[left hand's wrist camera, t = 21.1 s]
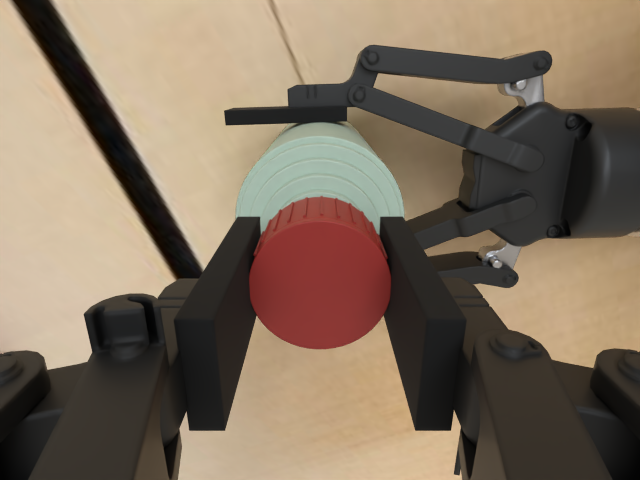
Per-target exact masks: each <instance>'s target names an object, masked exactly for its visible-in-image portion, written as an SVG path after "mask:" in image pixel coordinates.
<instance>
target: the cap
mask: <svg viewBox="0 0 640 480" xmlns="http://www.w3.org/2000/svg"><path fill="white" fill-rule="evenodd" d="M253 256H255V258H254V261H253V263H252V266H251V269H250V273H249V286H250V300H251V304H252V306H253V309H254V311H255V313H256V314H257V316H258V318H259V319H260V320H261V322H262V323H263V324H264V325H265V326H266V328H267V329H268V330H269V331H271V332H272V333H273V334H274V335H276V336H277V337H279V338H281V339H282V340H284V341H286V342H288V343H290V344H293V345H296V346H299V347H304V348H310V349H330V348H336V347H341V346H344V345H347V344H350V343H352V342H354V341H356V340H358V339H360V338H361V337H363V336H364V335H366V334H367V333H368V332H369V331H370V330H372V329H373V328H374V327H375V325H376V324H377V323H378V322H379V321H380V319H381V318H382V316H383V315H384V313H385V311H386V309H387V306H388V304H389V301H390V291H391V273H390V269H389V266H388V263H387V260H386V259H388V257H387V254H386V252H385V249H384V247H383V244H382V241H381V239H380V236H379V234H377V233H376V230H375V227H374V225H373V223H372V221H371V222H370V221H369V220H368V219H367V217H366V216H365V215H364V212H363V211H359V210H358V209H357V208H355V207H354V206H352V204H351V203H349V204H348V203H347V202H344V201H341V200H338V198H335V199H334V198H329V197H323V196H320V197H311V198H308V197H305V199H302V200H299V201H296V202H291V204H290V205H288V206H286V207H285V208H283V209H282V210H281V209H280V210H279V211H278V213H277V214H276V215H275V216H274V217H273V219H272V220H271V219H270V220H269V222H268V224H267V227H266V229H265V232H264V231H263V232H262V234H261V237H260V239H259V242H258V244H257V247H256V249H255V252H254V254H253Z"/></svg>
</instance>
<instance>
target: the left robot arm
mask: <svg viewBox="0 0 640 480" xmlns="http://www.w3.org/2000/svg"><path fill="white" fill-rule="evenodd" d="M379 236H380V239H381V241H382V244H383V247H384V249H385V252H386V254H387V257H388V259H386V260H387V263H388V266H389V269H390V273H391V291H390V301H389V304H388V306H387V309H386V311H385V313H384V318H385V322H386V325H387V329H388V333H389V336H390V340H391V344H392V347H393V351H394V355H395V358H396V362H397V366H398V369H399V373H400V376H401V380H402V384H403V387H404V391H405V395H406V398H407V402H408V406H409V409H410V413H411V416H412V420H413V424H414V427H415V431H451V426H452V419H453V412H454V410H455V413H456V415H457V418H458V420H459V423H460V425H461V430H460V437H459V443H458V450H457V456H456V463H455V470H454V474H455V475H460V470H461V473H462V480H640V352H637V351H634V350H625V349H609V350H603V351H602V352H601V353H599V354H598V355H597V357H596V361H595V365H594V368H589V367H584V366H579V365H573V364H568V363H563V362H559V361H555V360H552V359H551V357H550V355H549V353H548V352H547V350H546V349H545V348H544V347H543V346H542V344H541V343H539V342H538V341H536V340H534V339H533V338H531V337H530V336H527V335H525V334H522V333H519V332H517V331H512V330H508V328H507V327H506V326H505V324H504V323H503V322H502V321H501V319H500V318H499V317H498V315H497V314H496V313H495V311H494V310H493V309H492V307H489V304H488V302H487V301H486V300H485V298H483V296H482V294H481V293H480V292H479V291H478V289H477V288H476V287H475V286H474V285H472V284H471V283H469V282H468V281H466V280H464V279H463V278H461V277H440V276H439V274H438V273H437V271H436V269H435V268H434V266H433V265H432V263H431V261H430V260H429V258H428V257H427V255H426V253H425V252H424V250H423V249H422V247H421V245H420V244H419V242H418V240H417V239H416V237H415V236H414V234H413V232H412V231H411V229H410V228H409V226H408V224H407V223H406V221H405V220H404V218H403V217H380V230H379ZM260 237H261V224H260V217H237V219H236V220H235V222H234V223H233V225H232V227H231V228H230V230H229V231H228V233H227V235H226V236H225V238H224V239H223V241H222V243H221V244H220V246H219V247H218V249H217V251H216V252H215V254H214V255H213V257H212V259H211V260H210V262H209V263H208V265H207V267H206V268H205V270H204V271H203V273H202V275H201V276H200V278H199V279H178V280H177V281H175V282H174V283H172V284H170V285H169V286H167V287H165V289H164V290H163V291H162V293H161V294H160V295H159V297H158V299H157V298H156V297H154V296H152V295H147V294H125V295H120V296H115V297H112V298H109V299H106V300H103V301H101V302H99V303H97V304H95V305H93V306H92V307H90V308H89V309H88V310H87V311H86V312H85V313H84V317H85V322H86V326H87V331H88V335H89V339H90V344H91V348H92V354H91V356H90V358H89V360H88V362H85V363H81V364H77V365H71V366H66V367H61V368H56V369H51V370H47V367H46V363H45V360H44V357H43V356H42V355H40V354H39V353H38V352H33V351H27V350H26V351H15V352H13V351H12V352H6V353H4V354H0V480H178V474H179V466H180V458H181V450H182V444H181V437H180V430H179V428H180V426H181V423H182V421H183V418H184V416H185V413H186V411H187V417H188V424H189V431H225V428H226V425H227V421H228V418H229V414H230V410H231V407H232V403H233V399H234V396H235V392H236V388H237V385H238V381H239V377H240V374H241V370H242V367H243V363H244V359H245V356H246V352H247V348H248V345H249V341H250V337H251V334H252V330H253V326H254V323H255V319H256V316H257V314H256V313H255V311H254V309H253V306H252V304H251V300H250V286H249V273H250V269H251V266H252V263H253V261H254V258H255V256H253V254H254V252H255V249H256V247H257V244H258V242H259V239H260Z"/></svg>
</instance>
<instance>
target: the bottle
mask: <svg viewBox="0 0 640 480" xmlns="http://www.w3.org/2000/svg"><path fill="white" fill-rule="evenodd" d="M320 196H323V197H329V198H334V199H335V198H338V200H341V201H344V202H347V203H348V204H349V203H351V204H352V206H354V207H355V208H357V209H358V210H359V211H363V212H364V215H365V216H366V217H367V219H368V220H369V221H370V222H371V221H372V223H373V225H374V227H375V230H376V233H377V234H379V230H380V217H403V218H404V205H403V199H402V196H401V192H400V189H399V187H398V184H397V182H396V180H395V179H394V177H393V175H392V173H391V172H390V171H389V169H388V168H387V167H386V166H385V164H384V163H383V162H382V161H381V159H380V158H379V157H378V156H377V154H376V153H375V152H374V151H373V149H372V148H371V147H370V146H369V145H368V143H367V142H366V141H365V140H364V138H363V137H362V136H361V135H360V133H359V132H358V131H357V130H356V129H355V128H354V127H353V126H352V125H351V124H350V123H349V122H316V123H290V124H289V125H288V126H287V127H285V129H284V130H283V131H282V132H281V133H280V135H279V136H278V137H277V138H276V139H275V141H274V142H273V143H272V144H271V146H270V147H269V148H268V149H267V151H266V152H265V153H264V154H263V156H262V157H261V158H260V159H259V160H258V162H257V163H256V164H255V165H254V167H253V168H252V169H251V170H250V172H249V174H248V175H247V177H246V178H245V180H244V182H243V185H242V187H241V189H240V192H239V196H238V199H237V205H236V219H237V217H260V224H261V234H262V232H263V231H264V232H265V229H266V227H267V224H268V222H269V220H270V219H271V220H272V219H273V217H274V216H275V215H276V214H277V213H278V211H279V210H280V209H281V210H282V209H283V208H285V207H286V206H288V205H290V204H291V202H296V201H299V200H302V199H305V197H308V198H311V197H320Z"/></svg>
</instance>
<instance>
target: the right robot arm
mask: <svg viewBox="0 0 640 480" xmlns="http://www.w3.org/2000/svg"><path fill="white" fill-rule="evenodd" d="M551 65H552V57H551V55H550V54H549V53H548V52H546V51H535V52H529V53H522V54H517V55H513V56H509V57H506V58H502V59H496V58H487V57H478V56H469V55H460V54H451V53H442V52H433V51H424V50H415V49H406V48H397V47H388V46H379V45H369V46H367V47H366V48H364V49H363V50H362V51H361V52H360V53H359V54H358V57H357V61H356V64H355V67H354V70H353V73H352V75H351V77H350V78H349V80H347V81H346V82H344V83H340V84H314V85H296V86H294V87H292V88H289V89H288V106H282V107H250V108H232V109H229V110H225V111H224V113H225V123H226V125H252V124H284V123H316V122H347V107H358V108H360V109H363V110H366V111H368V112H371V113H374V114H376V115H379V116H382V117H384V118H387V119H390V120H392V121H395V122H398V123H400V124H403V125H406V126H408V127H411V128H414V129H416V130H419V131H422V132H424V133H427V134H430V135H432V136H435V137H438V138H440V139H443V140H446V141H448V142H451V143H454V144H456V145H459V146H462V147H464V148H467V149H466V150H463V155H462V165H463V171H464V177H463V179H462V182H461V185H460V189H459V198H457V199H454V200H452V201H449V202H447V203H445V204H444V205H443V206H442V207H441V208H439V209H436V210H434V211H431V212H429V213H426V214H424V215H421V216H418V217H416V218H413V219H411V220H408V221H406V223H407V224H408V226H409V228H410V229H411V231H412V232H413V234H414V236H415V237H416V239H417V240H418V242H419V244H420V245H421V247H422V249H423V250H424V249H427V248H430V247H432V246H435V245H438V244H440V243H443V242H446V241H448V240H451V239H453V238H456V237H469V236H472V235H475V234H477V233H480V232H483V231H485V230H488V229H489V230H490V231H492V232H493V233H495V234H496V235H497V236H499V237H500V238H501V239H500V241H499V242H498V243H497V244H495V245H493V246H486V247H485V246H483V247H481V248H480V249H479V252H457V253H450V254H443V255H437V256H430V257H428V258H429V260H430V261H431V263H432V265H433V266H434V268H435V269H436V271H437V273H438V274H439V276H440V277H461V278H463V279H464V280H466V281H468V282H469V283H471V284H479V283H481V284H487V285H492V286H498V287H504V288H510V287H513V286H514V285H515V284H516V283H517V282H518V278H519V277H518V274H517V273H516V272H515V271H514V270H513V267H514V265H515V262H516V260H517V257H518V255H519V252H520V249H521V247H523V246H527V245H530V244H532V243H534V242H536V241H538V240H541V239H545V238H559V239H571V238H606V237H621V236H625V235H626V236H632V237H640V108H638V109H634V108H594V109H559V108H556V107H555V106H553V105H552V104H550V103H547V102H544V88H543V74H545V73H546V72H547V71H548V70H549V69H550V67H551ZM378 73H382V74H391V75H400V76H409V77H419V78H428V79H437V80H446V81H455V82H465V83H474V84H497V86H498V91H499V92H500V93H501V94H502V95H504V96H513V97H515V98H516V99H517V101H518V103H519V105H518V106H517V107H515V108H514V109H513V110H511V111H510V112H508V113H507V114H506V115H504V116H503V117H502V118H500V119H499V120H497V121H496V122H495V123H493V124H492V125H490V126H489V127H488V128H486V129H485V130H484V129H481V128H478V127H476V126H473V125H470V124H467V123H465V122H462V121H459V120H457V119H454V118H451V117H449V116H446V115H444V114H441V113H438V112H436V111H433V110H431V109H428V108H425V107H423V106H420V105H417V104H415V103H412V102H410V101H407V100H404V99H402V98H399V97H397V96H394V95H391V94H389V93H386V92H383V91H381V90H378V89H376V88H373V86H374V83H375V80H376V77H377V75H378Z"/></svg>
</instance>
